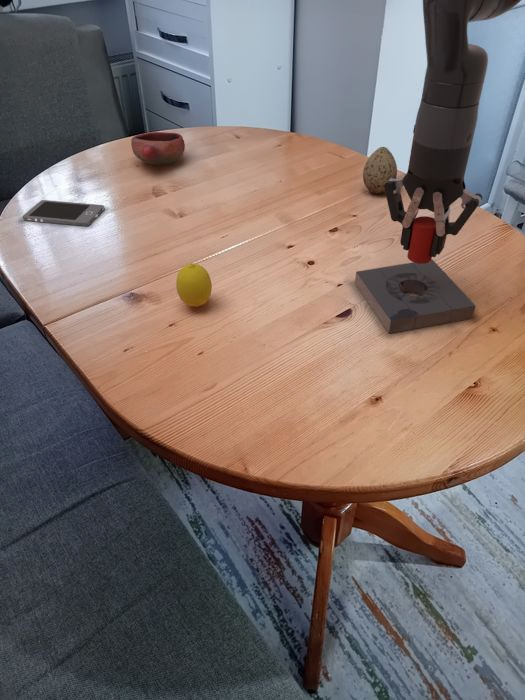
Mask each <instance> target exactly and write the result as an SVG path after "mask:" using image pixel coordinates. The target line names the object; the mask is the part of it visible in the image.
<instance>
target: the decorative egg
mask: <svg viewBox="0 0 525 700" xmlns="http://www.w3.org/2000/svg"><path fill="white" fill-rule="evenodd" d="M397 176H398V165H397V162H396V159H395V156H394V155H393V154H392V152H391V151H390V149H389V148H388V147H386V146H379V147H378V148H377V149H376V150H374V151H373V152H372V153H371V155H369V157H368V158H367V160H366V162H365V163H364V166H363V171H362V180H363V184H364V187H366V189H367V190H368V191H369V192H371V193H373V194H377V195H380V194H385V189H384V185H385V183H386V182H387V181H388V180H389V179H390V178H391V177H396V178H398V177H397Z"/></svg>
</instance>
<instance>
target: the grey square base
mask: <svg viewBox="0 0 525 700" xmlns="http://www.w3.org/2000/svg"><path fill="white" fill-rule="evenodd" d="M354 285H355V287H356V288H357V290H358V291H359V293H360V294H361V295H362V297H363V298H364V300H365V301H366V304H368V306H369V307H370V308H371V310H372V312H373V313H374V314H375V316H376V317H377V319H378V320H379V321H380V324H382V326H383V328H384V330H386V332H387V333H388V335H390V334H394V333H402V332H405V331H410V330H411V331H412V330H417V329H422V328H427V327H432V326H439V325H444V324H449V323H456V322H460V321H466V320H470V319H473V317H474V314H475V310H476V308H477V307H476V306H477V305H476V304H475V303H474V302H473V301H472V300H471V299H470V297H468V295H467V294H466V293H465V292H464V291H463V290H462V289H461V288H460V287H459V286H458V284H457V283H455V281H453V280H452V278H450V276H449V275H448V274H447V272H445V271H444V270H443V269H442V268H441V266H440V265H439V264H437V262H435V261H434V259H433V258H432V259H431V261H430V262H428V263H425V264H418V263H414V262H412V261H411V262H407V263H400V264H393V265H388V266H382V267H375V268H370V269H363V270H356V271H355V278H354ZM406 293H414V294H417V295H409V294H406Z"/></svg>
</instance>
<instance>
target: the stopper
mask: <svg viewBox="0 0 525 700" xmlns="http://www.w3.org/2000/svg"><path fill="white" fill-rule="evenodd" d="M435 234H436V221H435V218H434V217H431V216H425V215H423V216H416V218H415V219H414V222H413V228H412V233H411V239H410V244H409V250H408V251H407V256H406V257H407V259H408V260H409V261H410V262H411V263H412V262H414V263H418V264H425V263H428V262H430V261H431V259H433V257H431V256H430V254H431V249H432V244H433V239H434V235H435Z"/></svg>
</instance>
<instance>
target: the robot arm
mask: <svg viewBox="0 0 525 700" xmlns="http://www.w3.org/2000/svg"><path fill="white" fill-rule="evenodd" d="M520 2H522V0H422V16H423V25H424V40H425V43H424V44H425V52H426V69H425V74H424V79H423V87H422V93H421V98H420V102H419V106H418V109H417V113H416V117H415V123H414V125H413V131H412V133H413V136H412V142H411V148H410V155H409V160H408V167H407V172H406V174H404V176H403V177H391V178H390V179H389V180H388V181H387V182H386V183H385V185H384V189H385V192H384V194H385V198H386V201H387V207H388V210H389V211H388V212H389V215H390V219H391V221H392V222H394V223H395V222H398V223H400V225H401V226H402V230H401V235H400V241H399V243H400V245H401V246H403V247H402V250H404V251H407V252H408V250H409V244H410V239H411V233H412V228H413V222H414V219H415V218H417V217H418V214H419V212H420V210H428V211H430V212H432V213H433V214H434V216H433V218H435V221H436V234H435V235H434V239H433V244H432V249H431V254H430V256H431V257H432V258H436V257H437V255H439V256H440V254H441V253H442V252H443V250H444V249H445V245H446V242H447V241H446V240H447V237H448V235H452V236H457V235H458V234H459V232H460V231H461V230H462V228H463V227H464V226H465V225H466V223H467V222H468V220H470V218H471V216H472V215H473V214H474V212H475V211H476V209H477V208H478V206H479V205H480V204H481V202H482V200H483V198H484V197H483V195H482V194H481V193H478V192H477V193H475V194H474V193H473V192H470V190H468V189H466V183H465V174H466V170H467V166H468V162H469V158H470V153H471V149H472V145H473V140H474V137H475V131H476V127H477V122H478V117H479V106H480V100H481V97H482V92H483V87H484V83H485V78H486V76H487V75H486V74H487V70H488V65H489V55H488V53H487V50H485V48H483V47H482V46H480V45H477V44H472V43H469V36H468V26H469V25H468V24H469V23H474V22H483V21H489V20H492V19H495V18H497V17H501V16H502V15H503V14H505V13H507V12H509V11H510V10H511V9H513V8H514V7H516V6H517V5H518V4H519V3H520ZM404 189H405V192H406V194H407V196H408V198H409V200H410V202H409V204H408V207H407V209H406V211H405V206H404V202H403V197H402V192H403V190H404ZM459 198H460V199H461V204H460V207H461V208H462V209H463V210H462V212H461V213H460V214H459V216H458V217H457V219H456V220H455V221H451V222H450V213H451V205H452V204H454V203H455V202H456V201H457V200H458V199H459Z"/></svg>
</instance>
